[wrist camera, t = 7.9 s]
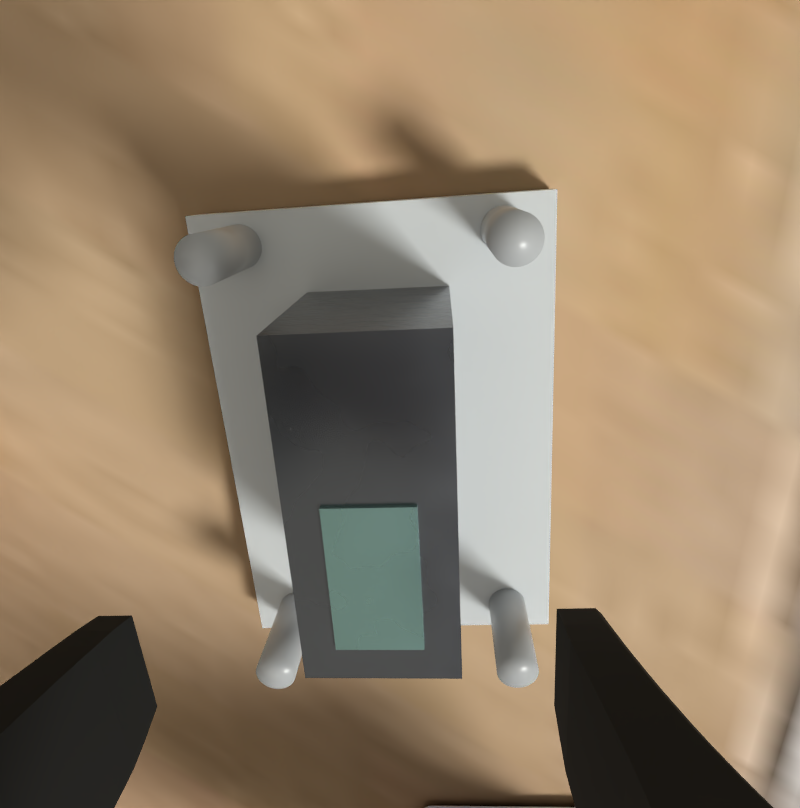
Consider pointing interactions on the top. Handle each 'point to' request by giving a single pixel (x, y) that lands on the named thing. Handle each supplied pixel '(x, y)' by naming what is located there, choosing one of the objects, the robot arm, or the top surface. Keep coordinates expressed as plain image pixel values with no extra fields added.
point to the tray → (473, 369)
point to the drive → (368, 478)
